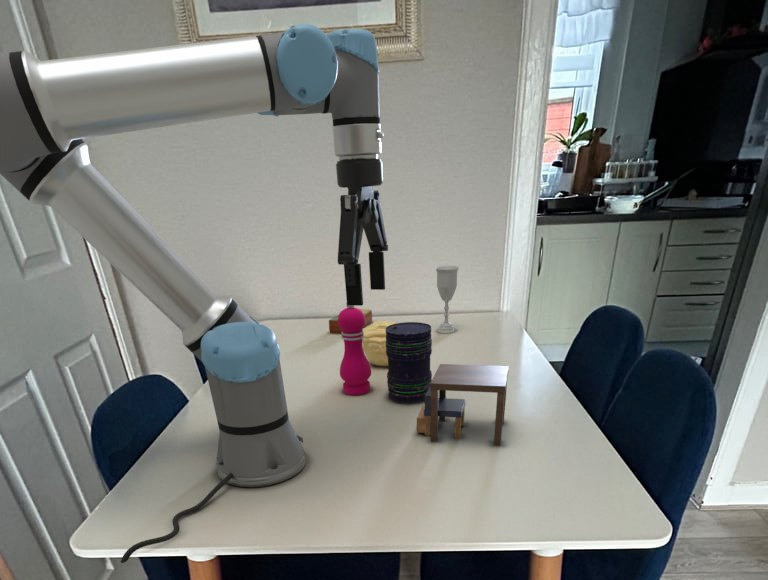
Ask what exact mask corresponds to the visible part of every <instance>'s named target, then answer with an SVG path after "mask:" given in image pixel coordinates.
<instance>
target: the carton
mask: <svg viewBox="0 0 768 580" xmlns="http://www.w3.org/2000/svg"><path fill="white" fill-rule="evenodd" d="M359 309H360V310H361V311H362V312H363V313H364V316H365V325H364V327H363V328H366V327H367V326H369V325H370V324H371V323H372V322H373V312H372V309H369V308H368V309H367V308H359ZM338 316H339V314H337V315H335V316H334V317H332V318H331V319H329V320H328V329H329V330H328V332H329V333H330V334H340V335H342V334H341V332H342V329H341V328H340V327H339V325H338Z"/></svg>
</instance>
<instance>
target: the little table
mask: <svg viewBox="0 0 768 580" xmlns="http://www.w3.org/2000/svg"><path fill="white" fill-rule="evenodd" d="M509 371H510V366H509V365H487V364H485V365H484V364H482V365H481V364H450V363H440V364H439V365H438V367H437V369H436V371H435V373H434V376H432V378H431V379H432V381H431V383H430V390H431V433H430V442H435V443H436V442H438V441H439V421H440V422H441V421H443V422H445V421H446V419H447V417H438V398H447V391H449V392H450V391H451V392H453V391H454V392H471V393H472V392H473V393H495V394H496V393H497V394H496V406H495V421H494V433H493V434H494V435H493V446H499V447H500V446H501V445H502V434H503V433H502V431H503V425H504V424H505V414H506V402H507V401H506V400H507V389H508V378H509V377H508V376H509Z"/></svg>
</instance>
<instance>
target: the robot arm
mask: <svg viewBox="0 0 768 580" xmlns="http://www.w3.org/2000/svg"><path fill="white" fill-rule="evenodd" d="M251 114H257V115H261V116H273V117H277V118H278V117H280V116H292V115H295V116H296V115H298V116H299V115H311V114H313V115H314V114H331V119H332V132H333V135H332V136H333V148H334V156H335V157H338V160H337V161H336V163H335V168H336V169H335V170H336V171H335V172H336V180H337V181H336V182H337V183H336V184H337V186H338V187H339V188H343V189H344V188H345V189H346V188H347V194H341V195H340V197H339V198H340V199H339V200H340V217H339V218H340V220H339V232H338V233H339V235H338V247H337V264H338V265H339V266H341V265H343V271H344V272H343V273H344V284H345V296H346V298H345V299H346V303H347V305H354V306H360V307H361V306H363V305H364V297H363V280H362V279H363V278H362V265H361V263H359V259H360V252H361V248H362V247H361V246H362V241H363V234H365V238H366V240H367V243H368V246H369V250H370V251H369V252H368V267H369V282H370V283H369V284H370V286H369V287H370V290H373V291H375V290H377V291H378V290H379V291H381V290H382V291H384V290H386V277H385V253H384V252H388V251H389V245H388V241H387V234H386V229H385V223H384V218H383V213H382V212H383V211H382V206H381V193H380V190H379V189H378V190H374V189H373V187H377V186H382V185H383V183H384V177H383V176H384V175H383V160H382V159H381V158H379V155H381V153H382V140H381V139H383V138H384V137H385V134H384V131H382V130H381V116H380V115H381V111H380V68H379V57H378V48H377V40H376V37H375V36H374V34H373V33H372V32H371V31H369V30H367V29H362V28H347V29H344V28H343V29H337V30H332V31H329V33H328V34H326V33H325V32H324V31H323V30H322V29H321V28H319V27H318V26H315V25H314V24H310V23H299V24H296V25H292V26H290V27H289V28H287V29H285V31H282V32H273V33H266V34H260V35H248V36H239V37H233V38H224V39H214V40H207V41H206V40H205V41H198V42H190V43H189V42H188V43H182V44H173V45H165V46H156V47H147V48H139V49H130V50H122V51H113V52H106V53H96V54H89V55H88V54H87V55H79V56H73V57H72V56H71V57H63V58H55V59H47V60H41V59H39V58H37V56H35V55H33V54H32V53H31V52H29V51H28V50H20V51H11V52H10V51H8V52H0V175H1V176H2V177H3V178H4V179H5V180H6V181H7V182H8V183H9V184H10V185H11V186H13V187H14V188H15V189H16V191H18V192H19V193H20V194H21V195H22V196H23V197H24V198H25V199H26V200H28V201H29V202H30V203H31V204H33V205H39V206H40V205H41V206H48V207H50V208H51V209H52V210H53V211H55V213H56V214H58V216H60V217H61V218H62V219H63V220H64V221H65V222H66V223H67V224H68V225H69V226H70V227H72V228H73V230H75V231H76V232H77V233H78V235H80V236H81V237H82V238H83V239H84V240H85V241H86V242H87V243H88V244H90V245H91V247H92V248H93V249H94V250H96V251H97V252H98V253H99V255H101V256H102V257H103V258H104V259H105V260H106V261H107V262H108V263H109V264H110V265H112V267H114V268H115V270H117V271H118V272H119V273H120V275H122V276H123V277H124V278H125V279H126V280H127V281H128V282H130V283H131V284H132V285H133V286H134V288H136V289H137V290H138V291H139V292H140V293H141V294H142V295H143V296H144V297H145V298H146V299H148V301H149V302H151V303H152V304H153V305H154V306H155V307H156V308H157V309H158V310H159V311H160V312H161V313H162V314H163V315H165V317H166V318H167V319H168V320H170V321H171V322H172V323H173V325H175V326H176V327H177V328H178V329H179V330H180V332H181V335H182V344H183V345H184V347H185V348H187V349H188V351H190V352H191V353H192V354H193V355H194V356H195V357H196V358H197V359H198V360H199V361H200V362H201V363H202V364H203V366H204V370H205V373H206V374H205V375H206V378H207V382H208V386H209V391H210V396H211V400H212V404H213V408H214V413H215V416H216V421H217V426H218V431H219V436H218V442H217V443H218V444H217V450H216V451H217V452H216V458H215V459H216V460H215V466H216V470H217V474H218V475H217V476H218V477H219V478H220V479H221V481H220V482H218V484H217V485H215V487H214V488H213V489H212V490H210V491H209V493H208V494H207V495H206V496H205V497H204V498H203V499H202V500H201V501H199V503H197V504H195V505H194V506H192V507H189V508H187V509H184V510H181V511H179V512H178V513H177V514H175V515H174V516H173V518H172V525H173V529H172V531H171V532H170V533H168V534H165V535H163V536H159V537H154V538H150V539H145V540H142V541H139V542H137V543H135V544H132V546H130V547H129V548H128V549H127V550H126V551H125V552H124V554H123V556H122V557H121V559H120V563H121V564H124V563H126V562H127V561H129V559H130V557H131V556H132V555H133V554H134V553H135V552H136V551H138V550H139V549H142V548H144V547H147V546H151V545H156V544H161V543H164V542H167V541H170V540H171V539H173V538H175V537H176V536H177V535H178V534H179V532H180V524H179V520H180V519H181V518H182V517H185V516H187V515H190V514H193V513H195V512H197V511H199V510H200V509H202V508H203V507H204V506H205V505H206V504H208V502H209V501H210V500H211V499H212V498H213V497H214V496H215V495H216V494H217V492H218V491H220V490H221V489H222V488H223V487H224V486H226V484H229V485H231V486H234V487H241V488H259V487H266V486H271V485H272V486H273V485H276V484H279V483H282V482H285V481H286V480H289V479H291V478H293V477H295V476H296V475H298V474H299V473H300V472H301V471H302V470H303V469H304V467H305V465H306V455H305V450H304V447H303V445H302V444H303V443H304V439H303V437H302V436H300V435H298V434H297V433H296V431H295V430H294V427H293V426H292V424H291V422H290V418H289V411H288V405H287V399H286V391H285V385H284V379H283V371H282V365H281V360H280V359H281V357H280V356H281V349H280V346H279V343H278V341H277V337H276V334H275V333H274V331H273V330H272V329H271V328H270V327H268V326H266V325H264V324H261V323H260V322H258V320H256V319H254V318H253V317H252V316H249V315H248V314H247V312H246V311H244V309H242V307H241V306H240V305H239V304H238V303H237V302H236V301H235V300H234V299H233V297H231V296H230V295H219V294H216V293H215V292H214V291H213V290H212V289H211V288H210V287H209V285H208V284H207V283H206V282H205V281H204V280H203V279H202V278H201V277H200V276H199V275H198V274H197V273H196V272H195V271H194V269H192V268H191V267H190V265H188V264H187V262H185V260H183V258H182V257H181V256H180V255H179V254H178V253H177V252H176V251H175V250H174V249H173V248H172V247H171V245H169V244H168V243H167V242H166V241H165V240H164V239H163V238H162V237H161V236H160V234H158V232H156V230H155V229H154V228H153V227H152V226H151V225H150V224H149V223H148V222H147V221H146V219H144V217H142V216H141V215H140V213H138V211H136V209H135V208H134V207H133V206H132V205H131V204H130V203H129V202H128V201H127V200H126V199H125V198H124V197H123V196H122V195H121V194H120V193H119V191H117V190H116V189H115V188H114V186H112V184H110V182H109V181H108V180H107V179H106V178H105V177H104V176H103V175H102V174H101V173H100V172H99V171H98V170H97V169H96V168H95V166H93V164H92V162H91V160H90V153H89V147H88V144H87V143H86V142H85V141H84V139H90V138H98V137H102V136H103V137H105V136H110V135H116V134H124V133H131V132H137V131H144V130H149V129H150V130H151V129H156V128H163V127H165V128H166V127H171V126H178V125H184V124H190V123H197V122H204V121H210V120H217V119H223V118H231V117H238V116H244V115H251ZM301 443H302V444H301Z"/></svg>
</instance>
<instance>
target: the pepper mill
mask: <svg viewBox="0 0 768 580" xmlns="http://www.w3.org/2000/svg"><path fill="white" fill-rule="evenodd" d="M345 305H346V308H343V309H342V310H341V311H340V312H339V314H338V315H339V316H338V325H339V327H340V328H341V329H342V332H341V334H340V335H341V339H342V340H343V343H344V353H343V357H342V360H341V363H340V367H339V377H340V378H341V380H342V381H344V382H343V383H342V390H343V393H344V394H346V395H349V396H350V395H351V396H361V395H365V394H367V393H369V392H370V391H371V382H370V381H369V379H370V377H371V376H372V367H371V364H370V361H369V359H368V358H367V356H366V354H365V352H364V350H363V343H362V338H364V334H363V333H364V331H363V329H364V328H365V327H364V325H365V316H364V313H363V312H362V311H361V310H360V309H361V308H358V307H355V305H347V302H346V304H345Z"/></svg>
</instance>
